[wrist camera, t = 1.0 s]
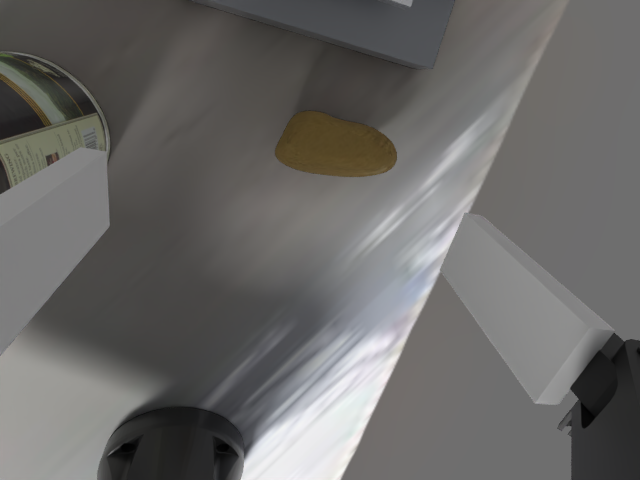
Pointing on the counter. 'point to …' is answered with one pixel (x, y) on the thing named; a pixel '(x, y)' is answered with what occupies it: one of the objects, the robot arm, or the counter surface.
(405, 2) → the platform
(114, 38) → the counter surface
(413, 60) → the scale base
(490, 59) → the counter surface
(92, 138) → the coffee can
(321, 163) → the potato
